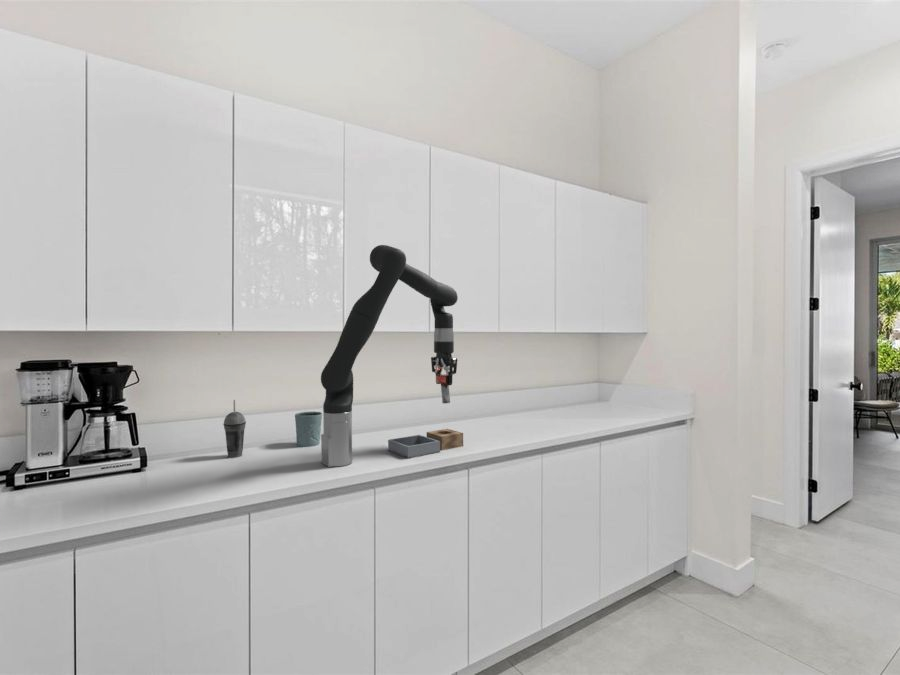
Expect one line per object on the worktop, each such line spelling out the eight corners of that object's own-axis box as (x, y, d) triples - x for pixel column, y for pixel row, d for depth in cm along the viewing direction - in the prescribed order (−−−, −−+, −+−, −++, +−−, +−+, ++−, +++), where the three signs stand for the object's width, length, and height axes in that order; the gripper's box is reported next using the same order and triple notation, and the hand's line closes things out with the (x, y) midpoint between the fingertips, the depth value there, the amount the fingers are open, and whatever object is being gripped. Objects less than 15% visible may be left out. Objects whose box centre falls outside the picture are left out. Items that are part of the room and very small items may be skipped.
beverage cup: (246, 452, 170) (246, 397, 170) (245, 457, 163) (245, 400, 163) (224, 454, 167) (224, 398, 167) (222, 459, 160) (222, 401, 160)
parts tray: (408, 458, 160) (407, 446, 160) (388, 450, 171) (388, 439, 171) (440, 452, 169) (439, 441, 169) (419, 445, 180) (419, 434, 179)
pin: (457, 402, 178) (454, 372, 177) (444, 404, 174) (441, 374, 174) (448, 400, 183) (445, 371, 182) (435, 403, 179) (432, 373, 179)
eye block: (442, 450, 171) (441, 436, 171) (426, 445, 179) (426, 432, 179) (463, 446, 178) (463, 432, 177) (447, 441, 185) (447, 428, 185)
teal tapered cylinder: (290, 444, 182) (290, 413, 182) (314, 439, 189) (313, 410, 189) (303, 448, 175) (302, 416, 175) (327, 444, 182) (327, 413, 182)
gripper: (463, 340, 174) (463, 385, 175) (440, 340, 186) (440, 382, 186) (447, 340, 170) (447, 387, 170) (425, 340, 181) (425, 383, 182)
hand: (443, 384), depth 178 cm, fingers closed on pin, 6 cm apart
